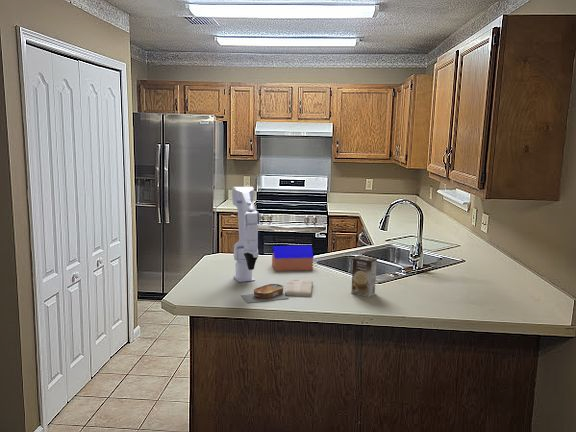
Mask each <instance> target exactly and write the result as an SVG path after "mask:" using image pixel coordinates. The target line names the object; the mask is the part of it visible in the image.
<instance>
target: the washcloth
mask: <svg viewBox="0 0 576 432" xmlns="http://www.w3.org/2000/svg"><path fill="white" fill-rule="evenodd" d="M313 283H314V282H313V281H312V280H301V279H300V280H299V279H288V280H287V282H286V284H285V289H284V295H287V297H291V296H292V297H294V296H296V297H312V296H313V295H312V290H313Z"/></svg>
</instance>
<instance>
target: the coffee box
mask: <svg viewBox="0 0 576 432" xmlns="http://www.w3.org/2000/svg"><path fill="white" fill-rule="evenodd" d="M377 262H378V258H374V257H371V256H370V257H369V256H366V255H361V254H360V255H357V256H355V257H353V258H352V272H351V273H352V274H351V275H352V276H351V291H350V292H351V294H354V295H357V296H358V295H359V296H363V297H367V298H368V297H369V298H370V297H372V296H373V295H374V294H376V285H377V284H376V282H377V281H376V280H377V279H376V278H377V265H378V263H377Z"/></svg>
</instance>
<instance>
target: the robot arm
mask: <svg viewBox="0 0 576 432" xmlns="http://www.w3.org/2000/svg"><path fill="white" fill-rule="evenodd" d="M231 195H232V196H231V197H232V198H231V199H232V205H234V206H235V207H236V210H237V219H238V221H237V222H238V223H237V225H238V239H239V240H238V241H237V242H236V243H235V244H234V245H233V258H234V261H236V262H235V275H233V278H234V279H235V280H236V281H237V282H238V283H242V282H251V281H252V282H253V281H255V280H256V279H255V278H254V277H253V270H254V269H255V266H256V262H257V260H258V258H259V249H258V248H259V247H258V244H259V243H258V242H259V239H258V238H259V237H258V236H259V225H260V219H261V218H260V213H259V211H257V210H256V206H255V204H254V203H253V202H254V197H255V189H254V187H253V186H232V190H231Z"/></svg>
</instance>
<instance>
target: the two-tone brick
mask: <svg viewBox="0 0 576 432" xmlns="http://www.w3.org/2000/svg"><path fill="white" fill-rule="evenodd" d="M271 254H272V255H271V256H272V257H271V265H272V268H273V269H274V271H275V272H280V271H283V270H285V271H310V270H311V271H312V270H313V269H314V259H315V258H314V252H313V247H312V244H311V245H309V244H308V245H307V244H306V245H273V247H272V251H271Z"/></svg>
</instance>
